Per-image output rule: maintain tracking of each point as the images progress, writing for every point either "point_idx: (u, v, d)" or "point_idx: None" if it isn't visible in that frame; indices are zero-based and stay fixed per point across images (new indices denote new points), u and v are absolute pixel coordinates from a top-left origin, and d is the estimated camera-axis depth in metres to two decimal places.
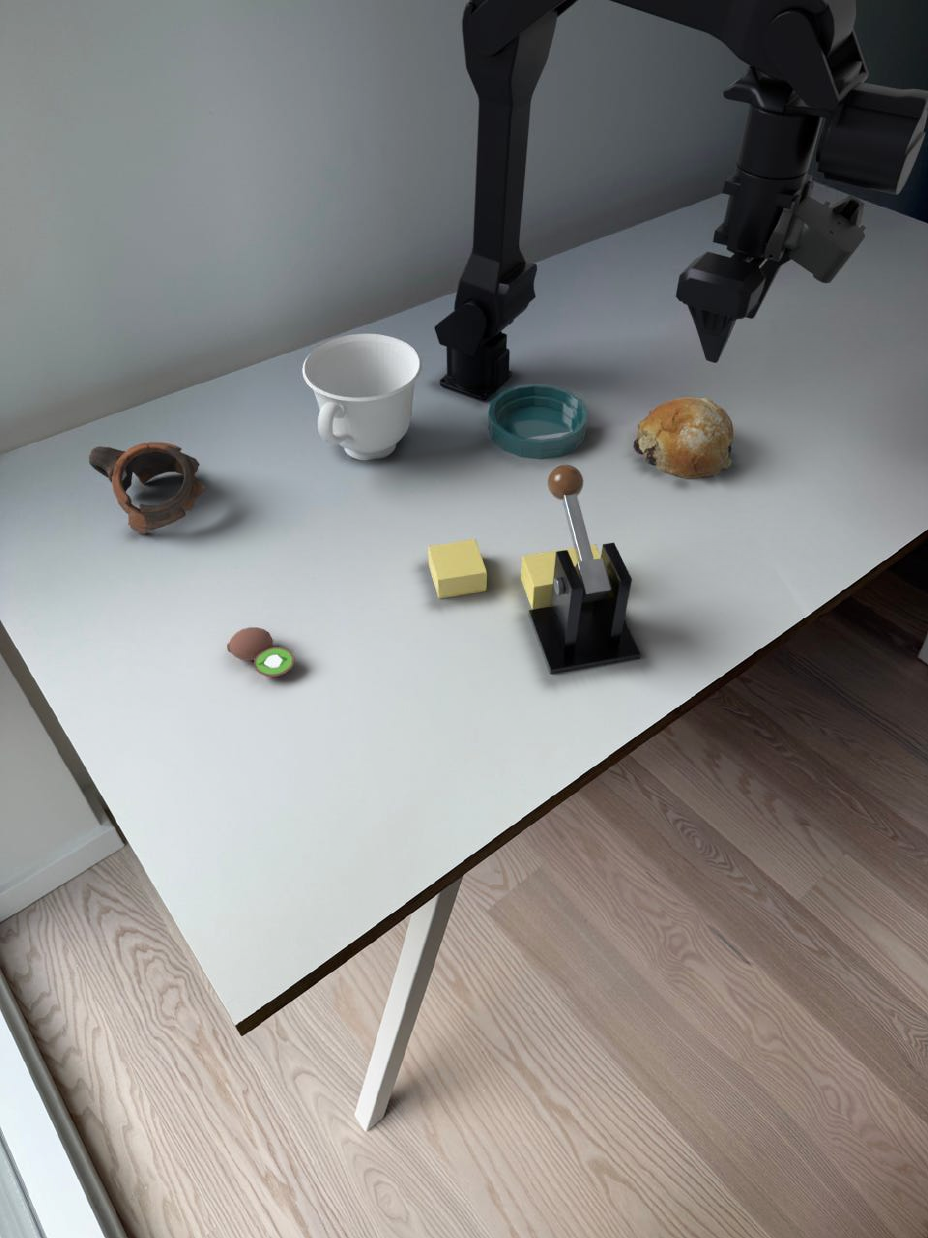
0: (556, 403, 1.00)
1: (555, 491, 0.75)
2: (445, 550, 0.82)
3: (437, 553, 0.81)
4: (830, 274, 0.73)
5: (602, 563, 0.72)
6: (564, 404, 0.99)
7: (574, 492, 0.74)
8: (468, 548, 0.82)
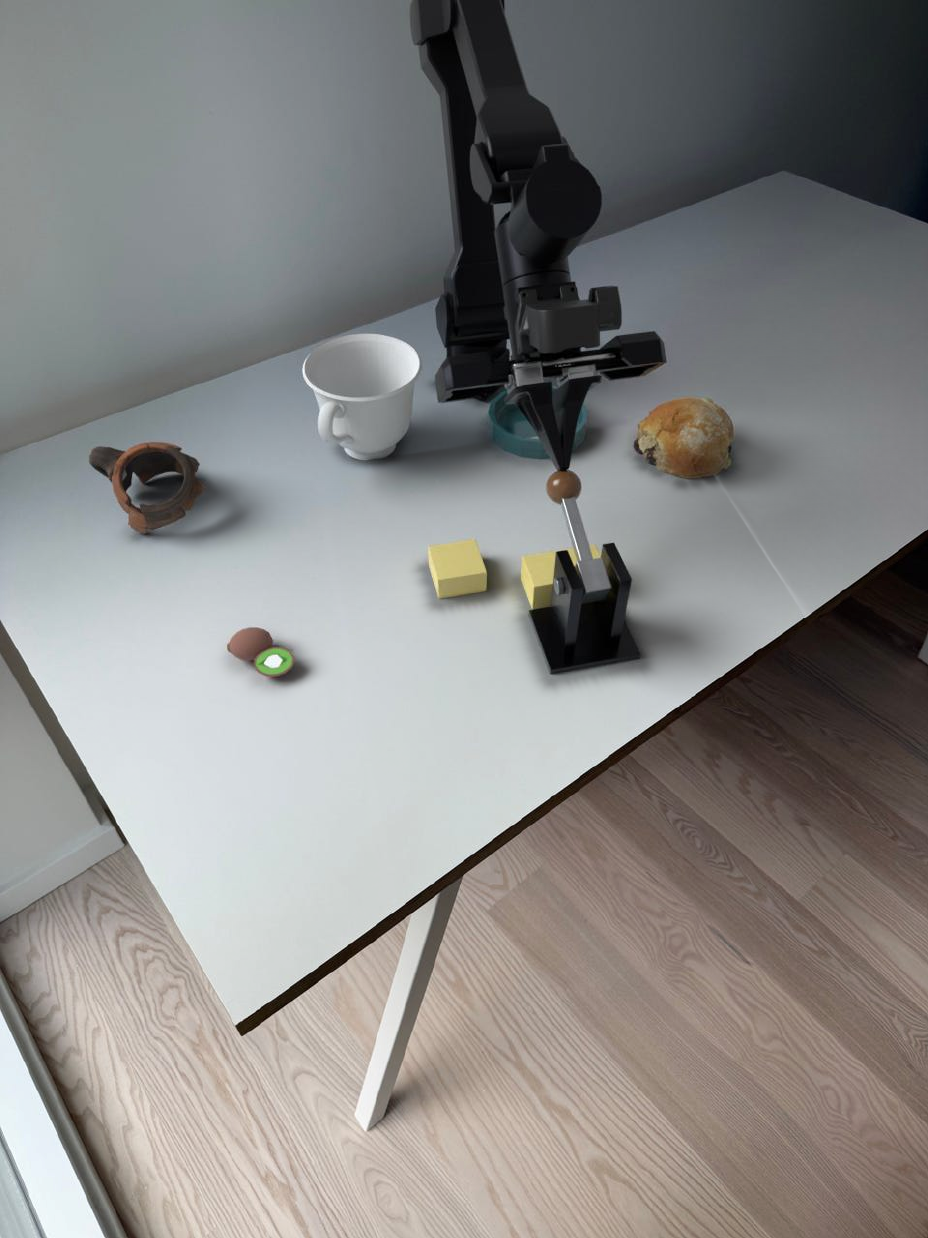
0: None
1: (554, 494, 0.75)
2: (445, 550, 0.82)
3: (437, 553, 0.81)
4: (543, 341, 0.67)
5: (601, 562, 0.72)
6: None
7: (572, 495, 0.75)
8: (468, 548, 0.82)
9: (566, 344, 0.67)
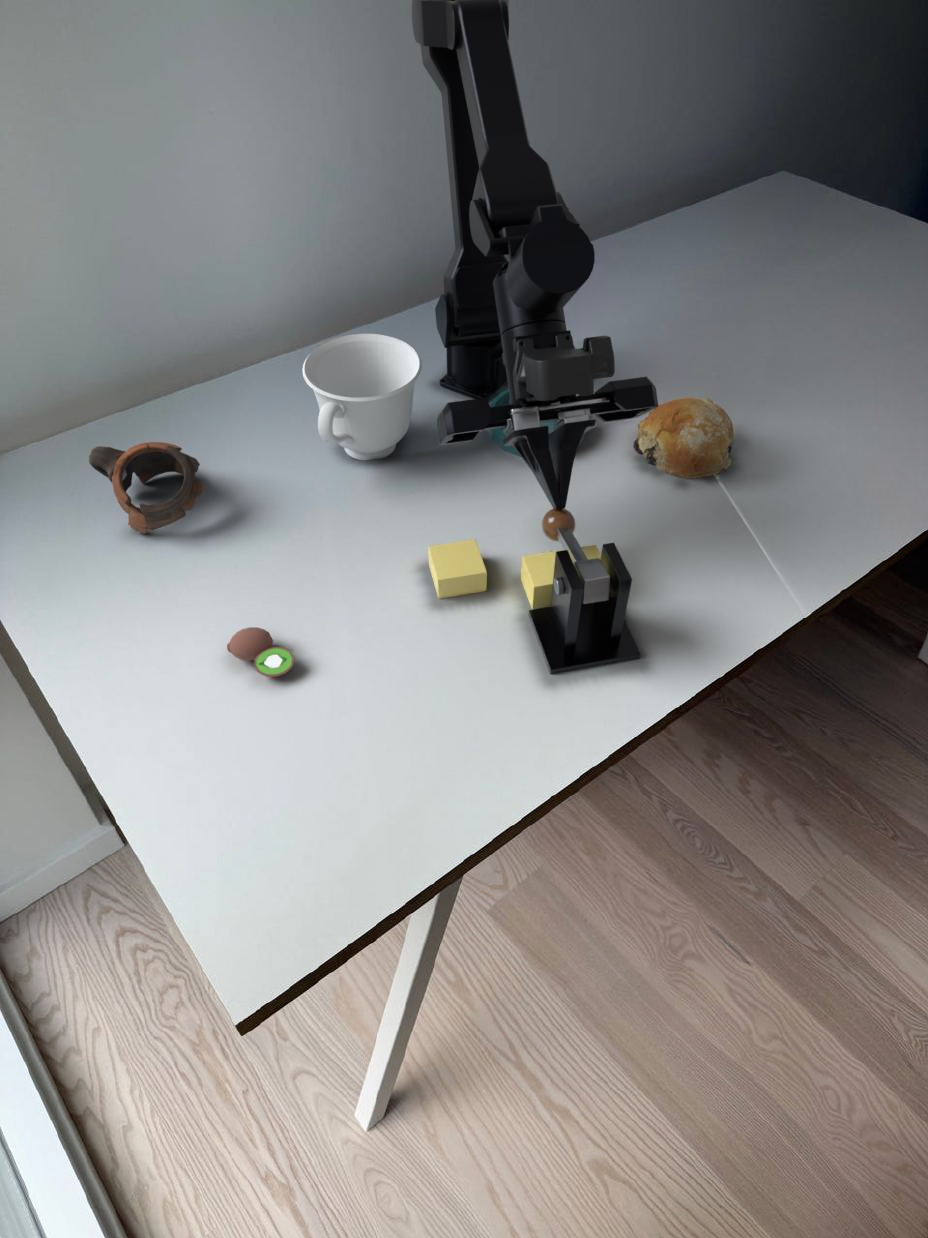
0: None
1: (548, 526, 0.79)
2: (445, 550, 0.82)
3: (437, 553, 0.81)
4: (540, 389, 0.70)
5: (598, 560, 0.73)
6: None
7: (566, 525, 0.78)
8: (468, 548, 0.82)
9: (561, 392, 0.70)
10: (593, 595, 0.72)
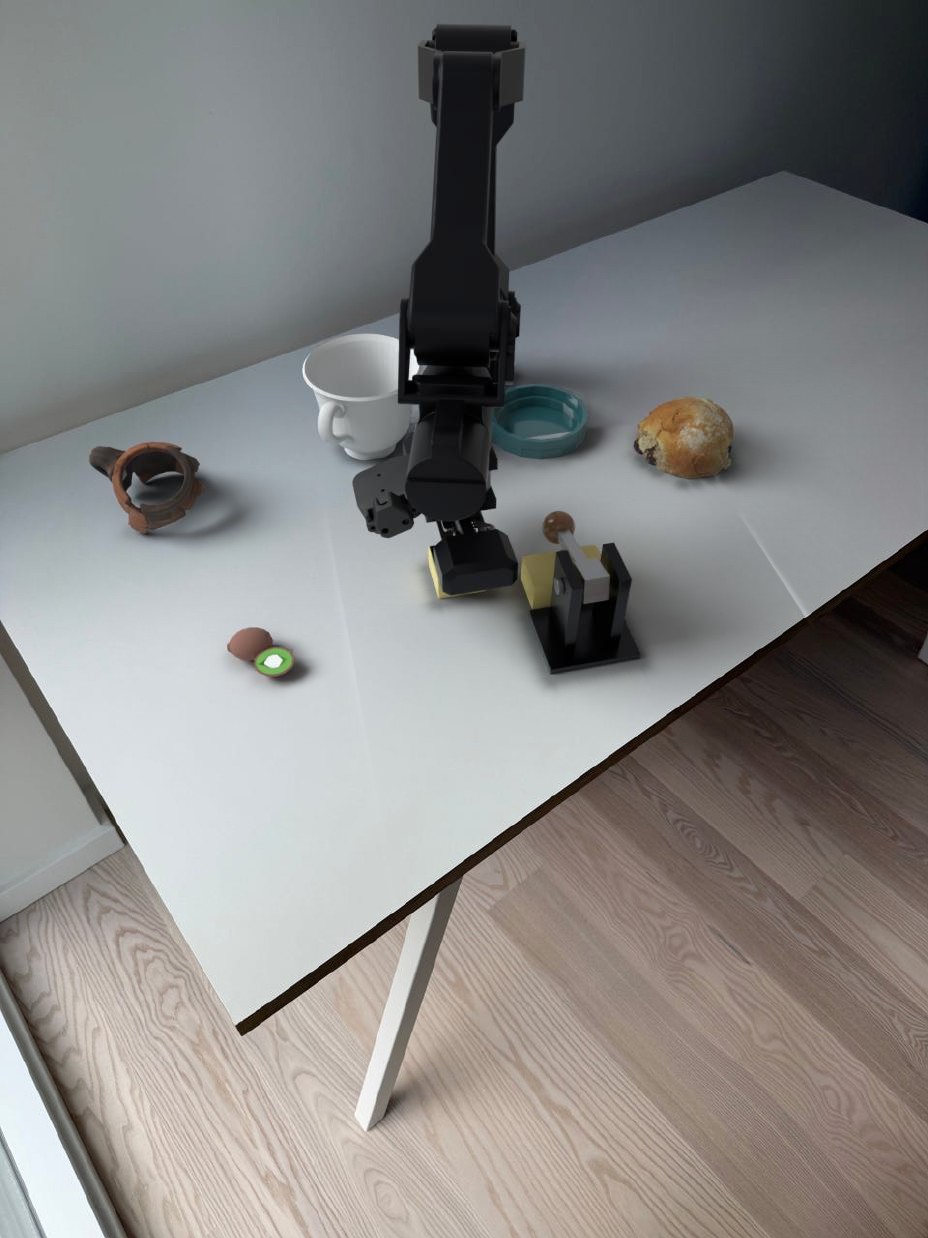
0: (556, 403, 1.00)
1: (548, 529, 0.79)
2: None
3: None
4: None
5: (598, 561, 0.73)
6: (564, 404, 0.99)
7: (566, 527, 0.79)
8: None
9: None
10: (593, 595, 0.72)
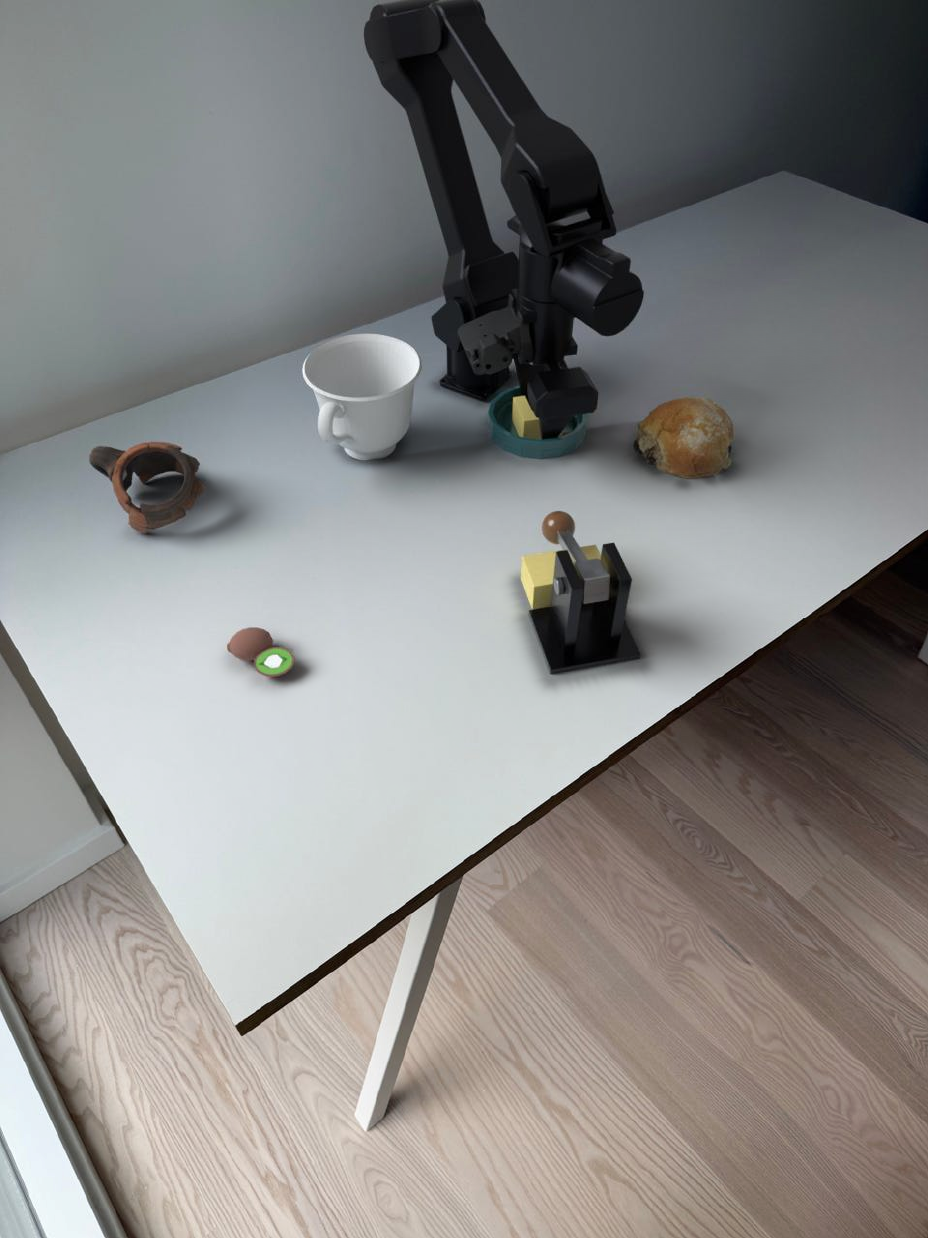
0: None
1: (548, 529, 0.79)
2: None
3: (521, 402, 0.96)
4: None
5: (598, 561, 0.73)
6: None
7: (566, 527, 0.79)
8: None
9: None
10: (593, 595, 0.72)
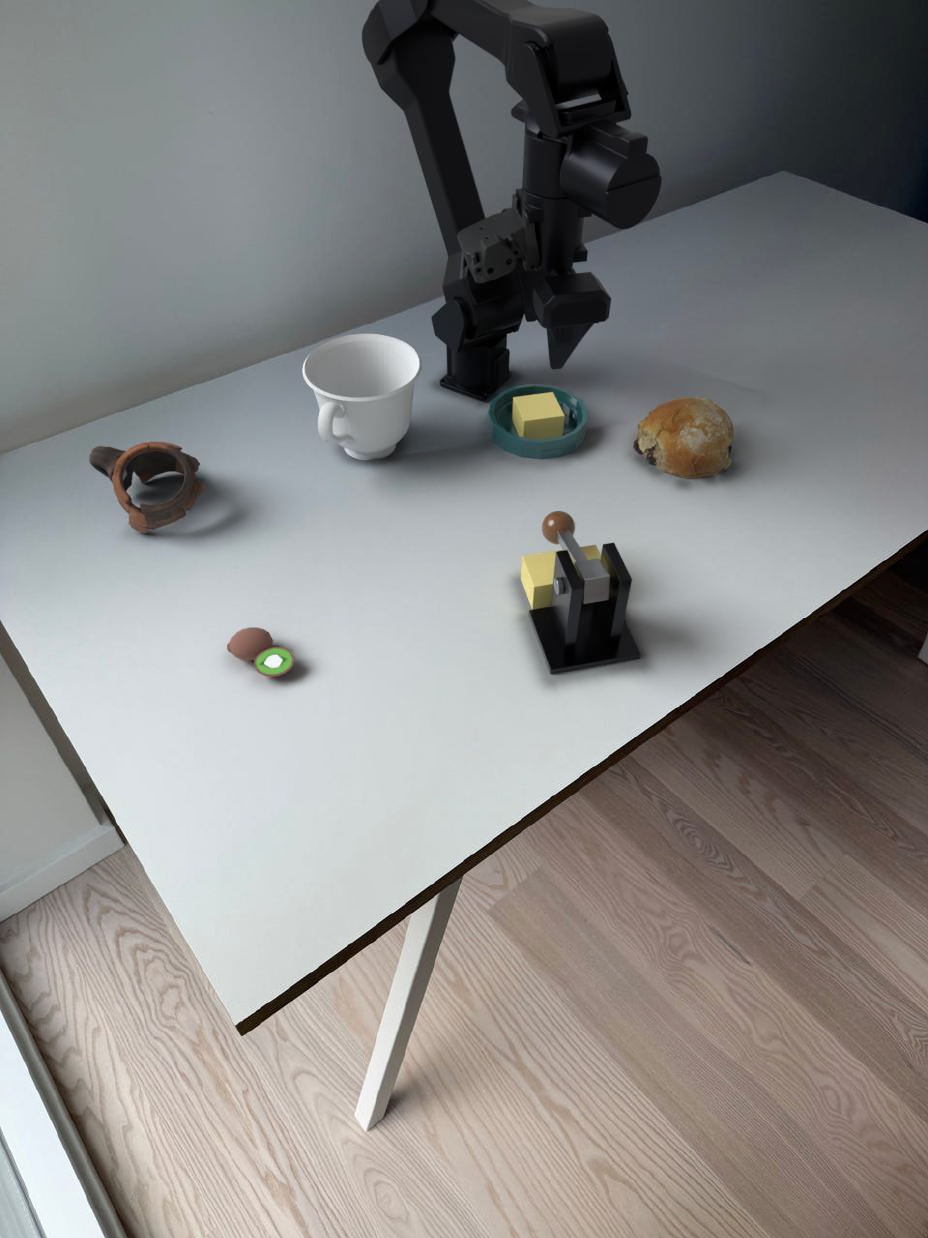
0: None
1: (548, 529, 0.79)
2: (528, 400, 0.97)
3: (521, 402, 0.96)
4: None
5: (598, 561, 0.73)
6: (564, 404, 0.99)
7: (566, 527, 0.79)
8: (547, 398, 0.97)
9: (468, 266, 0.83)
10: (593, 595, 0.72)
